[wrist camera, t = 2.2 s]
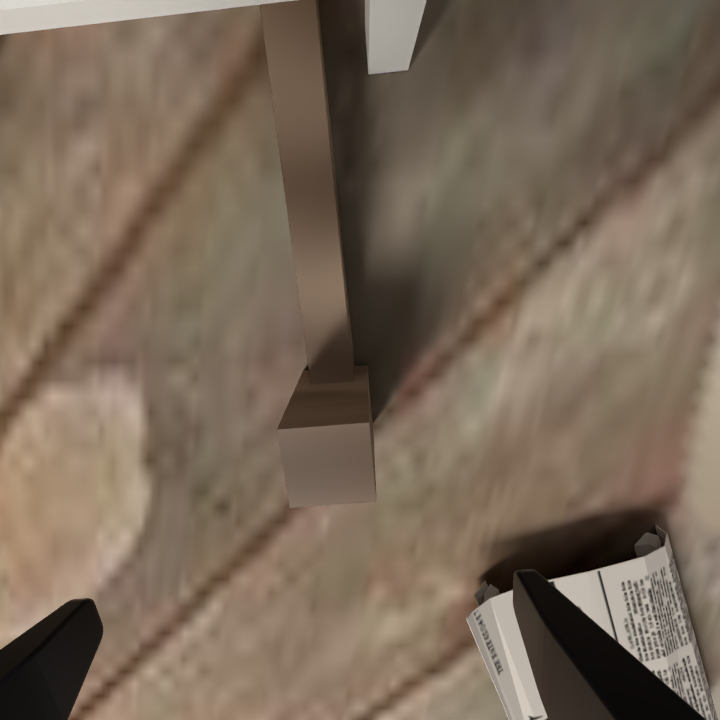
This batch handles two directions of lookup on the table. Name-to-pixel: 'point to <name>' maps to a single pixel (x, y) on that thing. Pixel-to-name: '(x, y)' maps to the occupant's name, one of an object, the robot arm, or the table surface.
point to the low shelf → (117, 3)
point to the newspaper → (603, 627)
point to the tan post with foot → (317, 276)
